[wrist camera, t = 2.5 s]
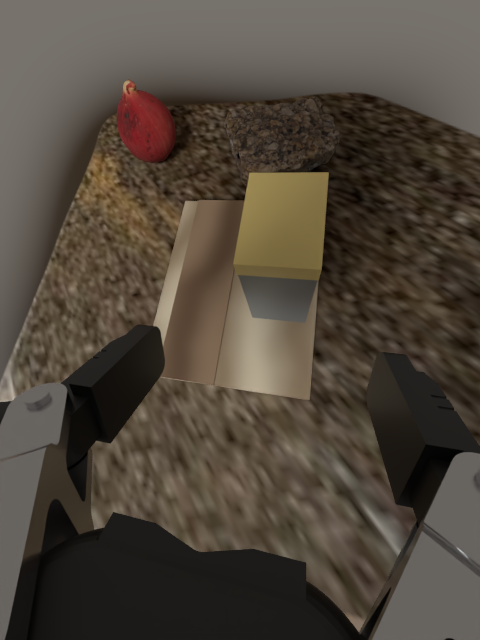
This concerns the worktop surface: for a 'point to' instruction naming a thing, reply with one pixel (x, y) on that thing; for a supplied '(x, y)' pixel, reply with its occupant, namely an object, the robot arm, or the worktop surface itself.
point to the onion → (145, 125)
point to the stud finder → (281, 243)
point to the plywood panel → (226, 314)
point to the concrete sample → (281, 137)
